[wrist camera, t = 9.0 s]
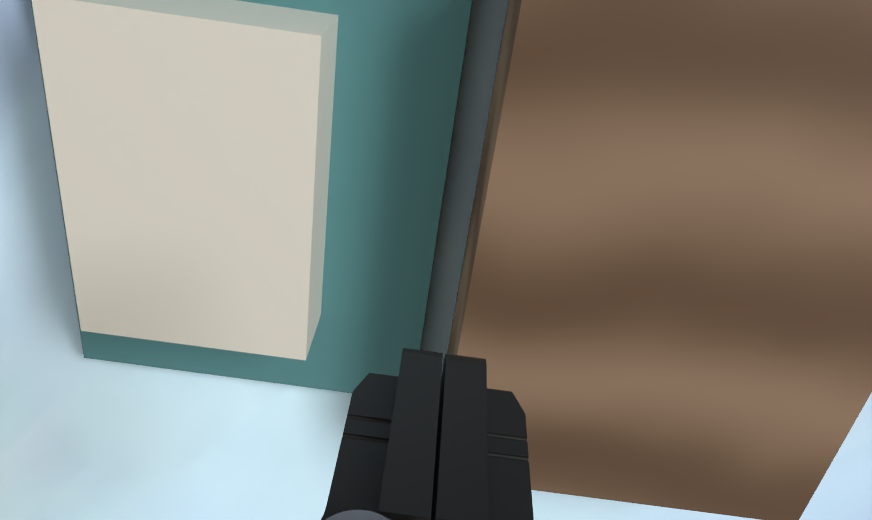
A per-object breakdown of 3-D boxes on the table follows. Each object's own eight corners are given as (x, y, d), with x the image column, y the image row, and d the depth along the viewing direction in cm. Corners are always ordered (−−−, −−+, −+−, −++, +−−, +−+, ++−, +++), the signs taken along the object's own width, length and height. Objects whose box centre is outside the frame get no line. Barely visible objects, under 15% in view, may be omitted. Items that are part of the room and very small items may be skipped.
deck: (521, -72, 19) (531, -53, 15) (968, -5, 19) (1078, 28, 15) (439, 395, 27) (434, 477, 23) (755, 437, 27) (796, 524, 23)
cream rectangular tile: (321, 35, 17) (338, 14, 19) (30, -6, 17) (80, -22, 19) (305, 360, 22) (320, 315, 24) (80, 330, 22) (115, 287, 24)
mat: (19, -146, 18) (9, -147, 18) (483, -78, 19) (483, -76, 18) (90, 349, 26) (84, 357, 26) (413, 392, 27) (412, 401, 26)
